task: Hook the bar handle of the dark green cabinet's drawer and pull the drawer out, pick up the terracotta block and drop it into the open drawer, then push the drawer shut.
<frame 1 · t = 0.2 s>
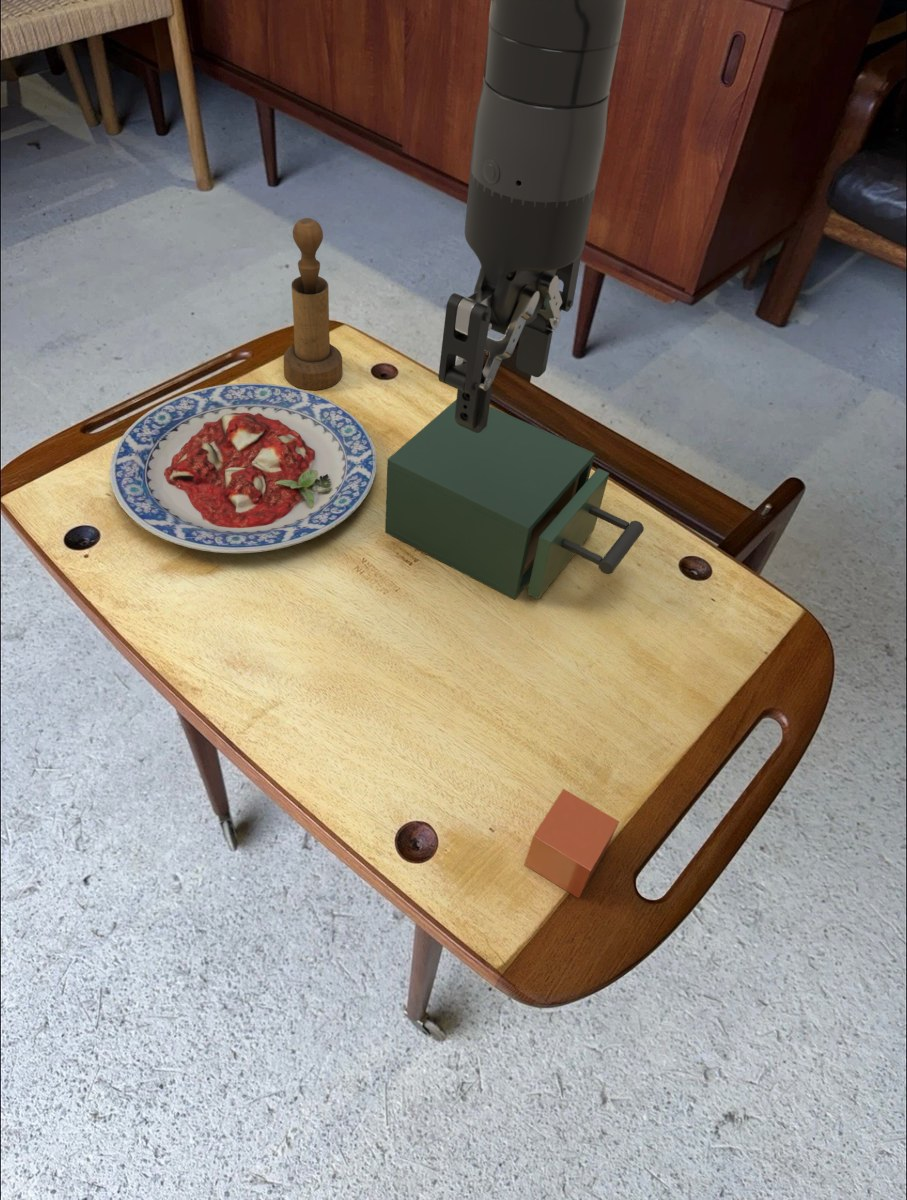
hand: (501, 398, 65), 23 cm above the table, tool pointing down, fingers open, 8 cm apart
ceramic plate: (248, 477, 91), on the table
mortar and pestle: (313, 375, 103), on the table
cabinet: (482, 528, 88), on the table
drawer: (534, 516, 83), point 5 cm above the table, slide at 0.8 cm
block: (565, 857, 66), on the table
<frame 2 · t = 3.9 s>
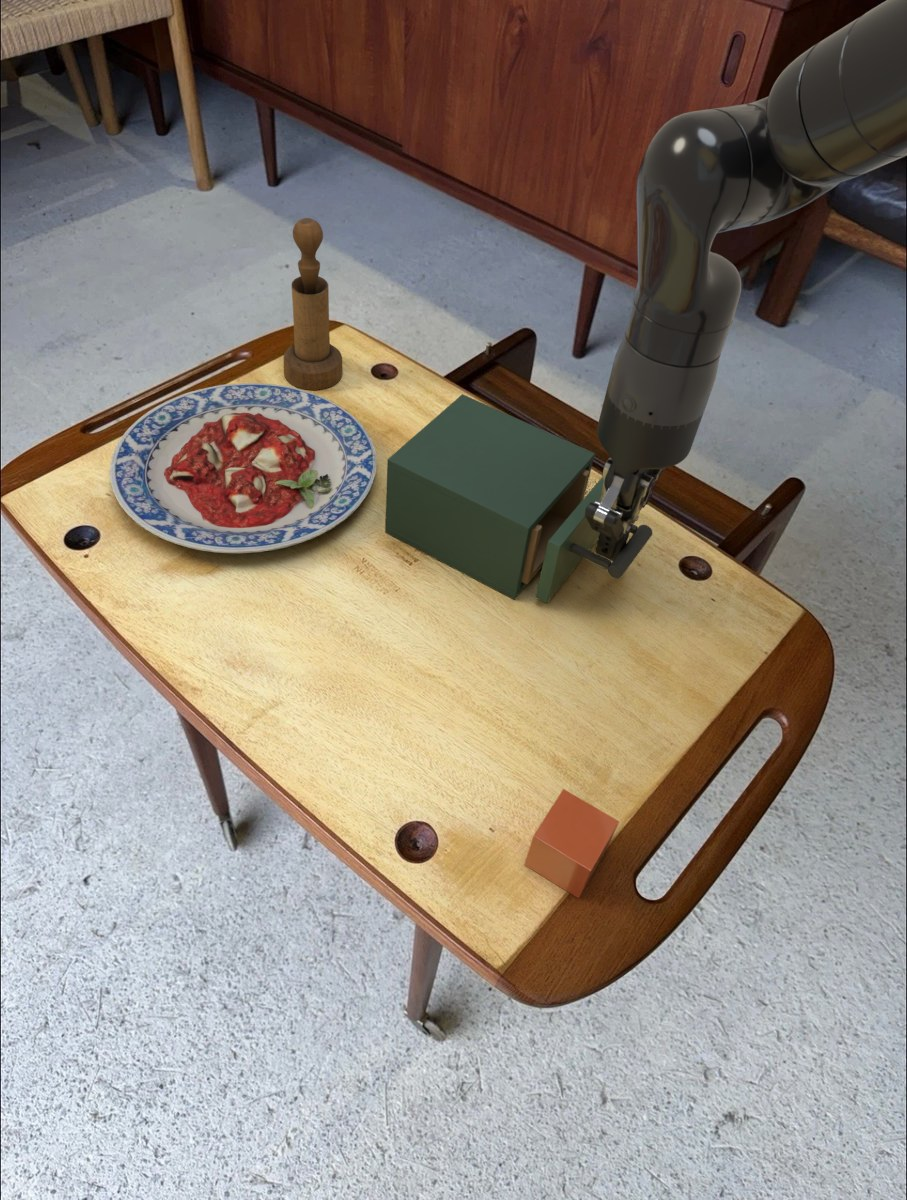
hand: (608, 552, 81), 5 cm above the table, tool pointing down, fingers closed
drawer: (543, 520, 83), point 5 cm above the table, slide at 1.7 cm
everything else where it was.
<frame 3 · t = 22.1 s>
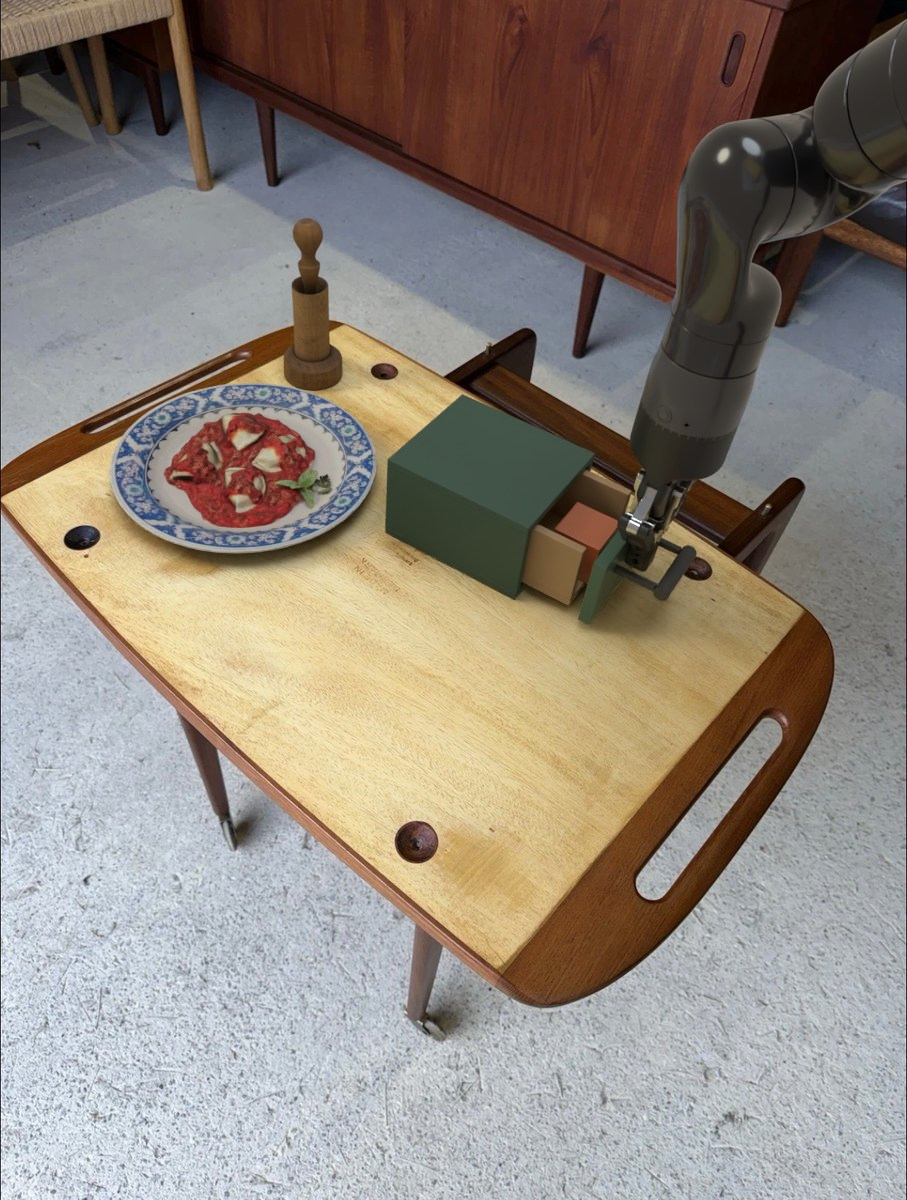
hand: (637, 563, 80), 5 cm above the table, tool pointing down, fingers closed
drawer: (584, 540, 82), point 5 cm above the table, slide at 6.0 cm, touching block, gripper
block: (578, 560, 83), point 2 cm above the table, touching drawer
everything else where it was.
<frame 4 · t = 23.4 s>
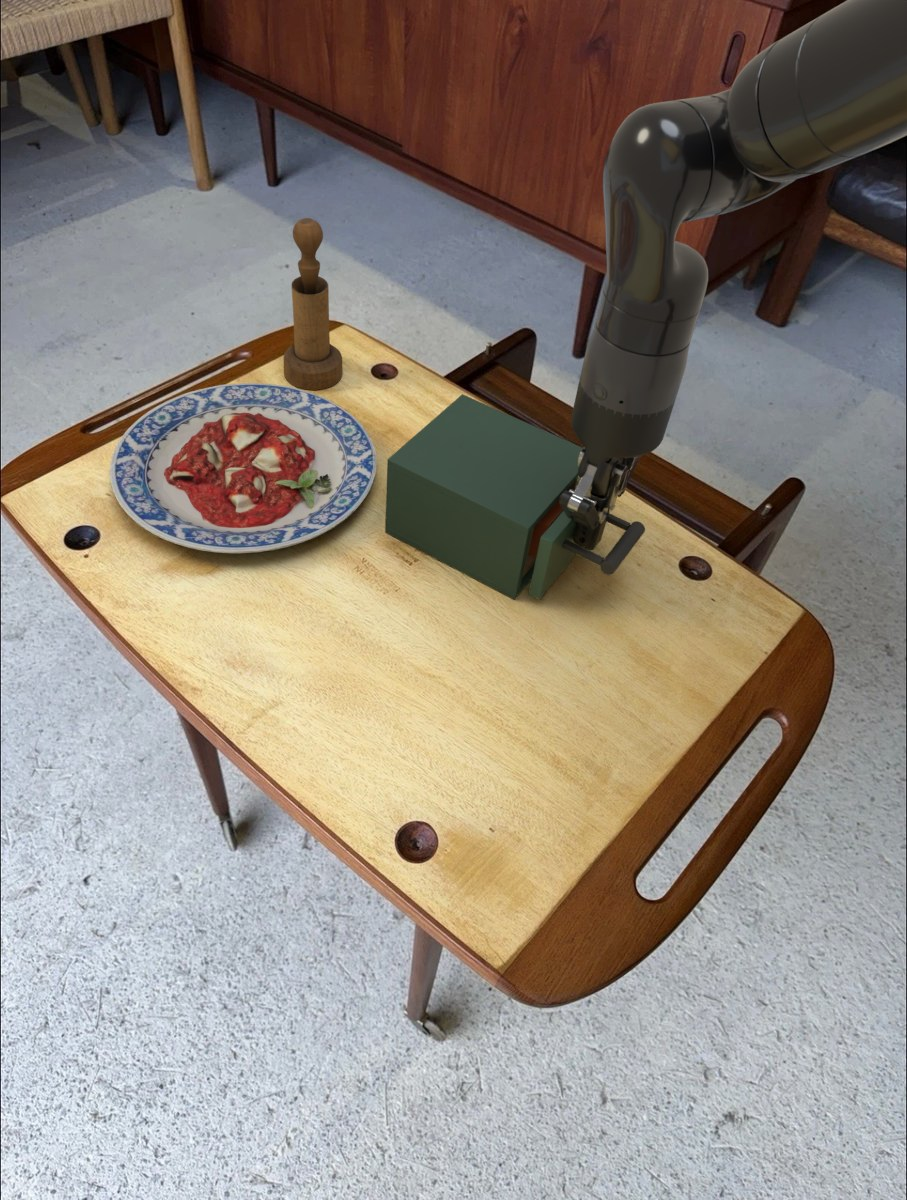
hand: (586, 542, 82), 4 cm above the table, tool pointing down, fingers closed
drawer: (536, 517, 83), point 5 cm above the table, slide at 0.9 cm, touching block, gripper
block: (531, 537, 85), point 2 cm above the table, touching drawer
everything else where it was.
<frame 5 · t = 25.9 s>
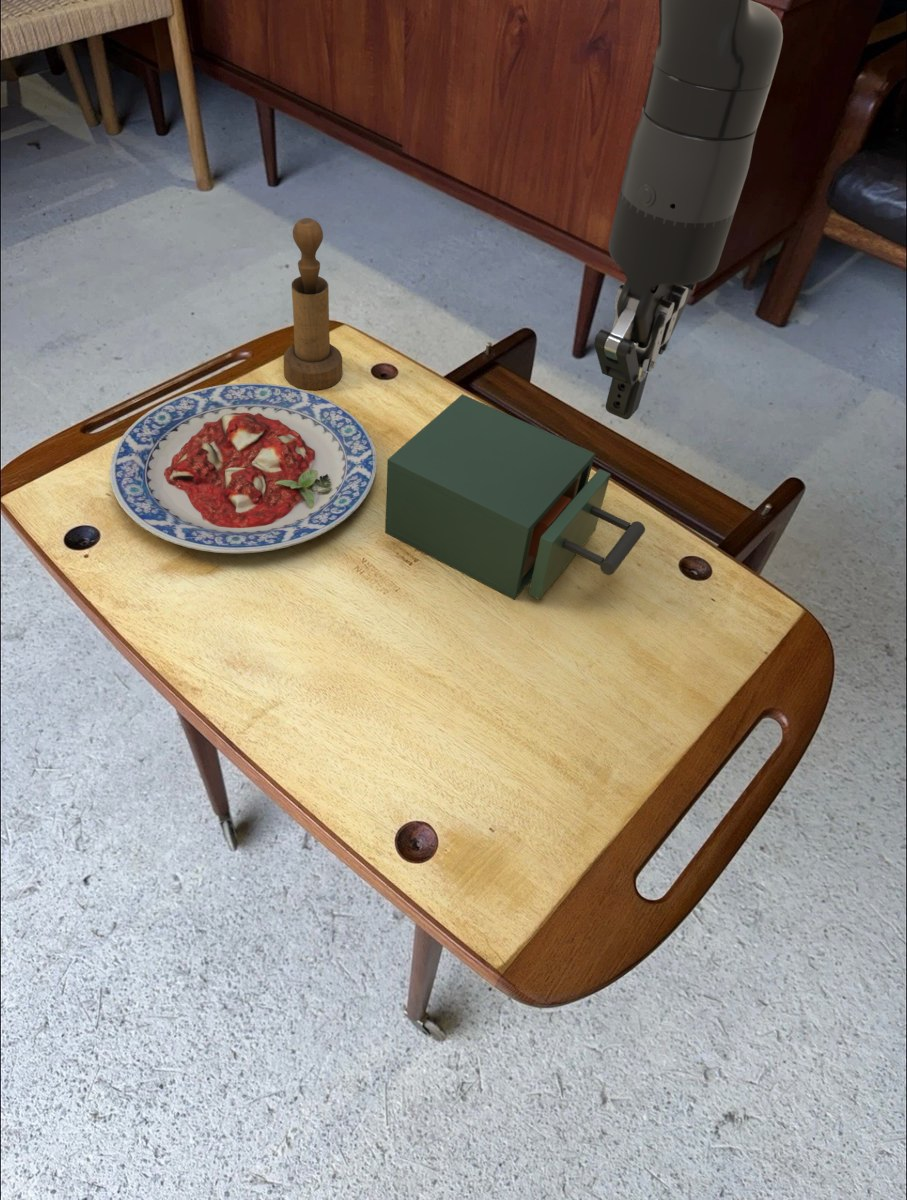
hand: (620, 411, 71), 19 cm above the table, tool pointing down, fingers closed
drawer: (536, 517, 83), point 5 cm above the table, slide at 0.9 cm, touching block
everything else where it was.
at the end: drawer pulled out 7.2 cm at the most during the clip, back to 0.9 cm at the end; block inside the target area in the cabinet (5.3 cm from its centre), point 2.0 cm above the cabinet's base; drawer slide at 0.9 cm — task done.
